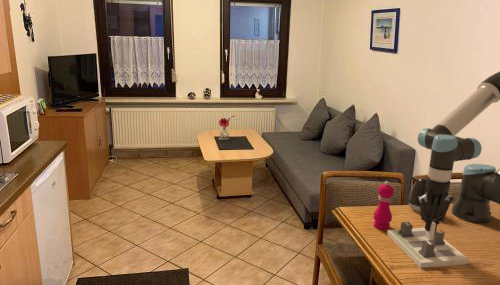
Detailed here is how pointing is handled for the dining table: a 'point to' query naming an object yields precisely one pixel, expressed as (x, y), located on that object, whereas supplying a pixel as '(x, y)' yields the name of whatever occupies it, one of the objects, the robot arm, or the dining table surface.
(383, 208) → the pepper mill
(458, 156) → the robot arm
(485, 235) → the dining table surface
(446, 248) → the panel
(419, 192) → the black glossy egg shape
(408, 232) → the breaker
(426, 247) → the breaker
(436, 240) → the breaker
